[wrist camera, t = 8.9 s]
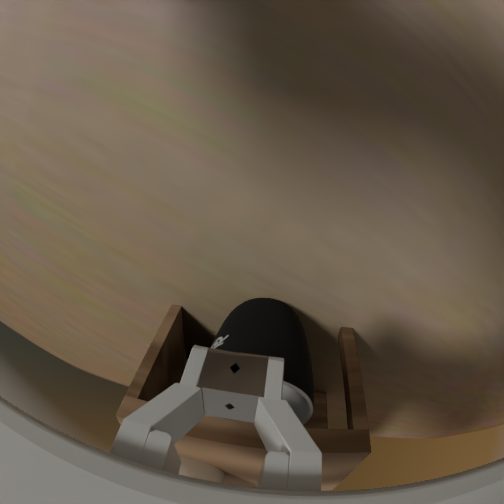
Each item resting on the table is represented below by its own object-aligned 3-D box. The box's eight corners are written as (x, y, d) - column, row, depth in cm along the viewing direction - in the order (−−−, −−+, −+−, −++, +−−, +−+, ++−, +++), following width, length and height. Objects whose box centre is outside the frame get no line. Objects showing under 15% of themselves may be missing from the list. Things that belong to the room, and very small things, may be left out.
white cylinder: (152, 448, 19) (127, 518, 13) (225, 465, 19) (209, 541, 13) (164, 470, 22) (145, 529, 16) (225, 484, 22) (212, 545, 16)
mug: (231, 272, 26) (202, 358, 18) (326, 301, 27) (335, 391, 18) (206, 357, 32) (182, 432, 23) (281, 378, 33) (275, 455, 24)
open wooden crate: (171, 304, 29) (115, 415, 17) (352, 328, 28) (371, 452, 16) (181, 377, 35) (148, 469, 23) (324, 397, 34) (325, 495, 22)
